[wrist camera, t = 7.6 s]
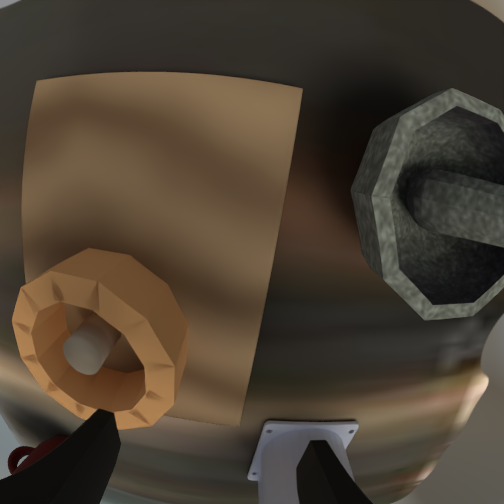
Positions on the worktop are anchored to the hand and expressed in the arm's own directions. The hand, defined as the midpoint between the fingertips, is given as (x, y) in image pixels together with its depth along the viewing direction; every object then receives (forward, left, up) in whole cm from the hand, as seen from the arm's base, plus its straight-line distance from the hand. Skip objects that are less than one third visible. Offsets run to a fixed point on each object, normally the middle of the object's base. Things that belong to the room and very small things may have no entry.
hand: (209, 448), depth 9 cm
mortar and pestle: (+10, -10, -10) cm, 17 cm away
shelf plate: (+3, +6, -9) cm, 12 cm away
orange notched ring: (-1, +7, -8) cm, 11 cm away
